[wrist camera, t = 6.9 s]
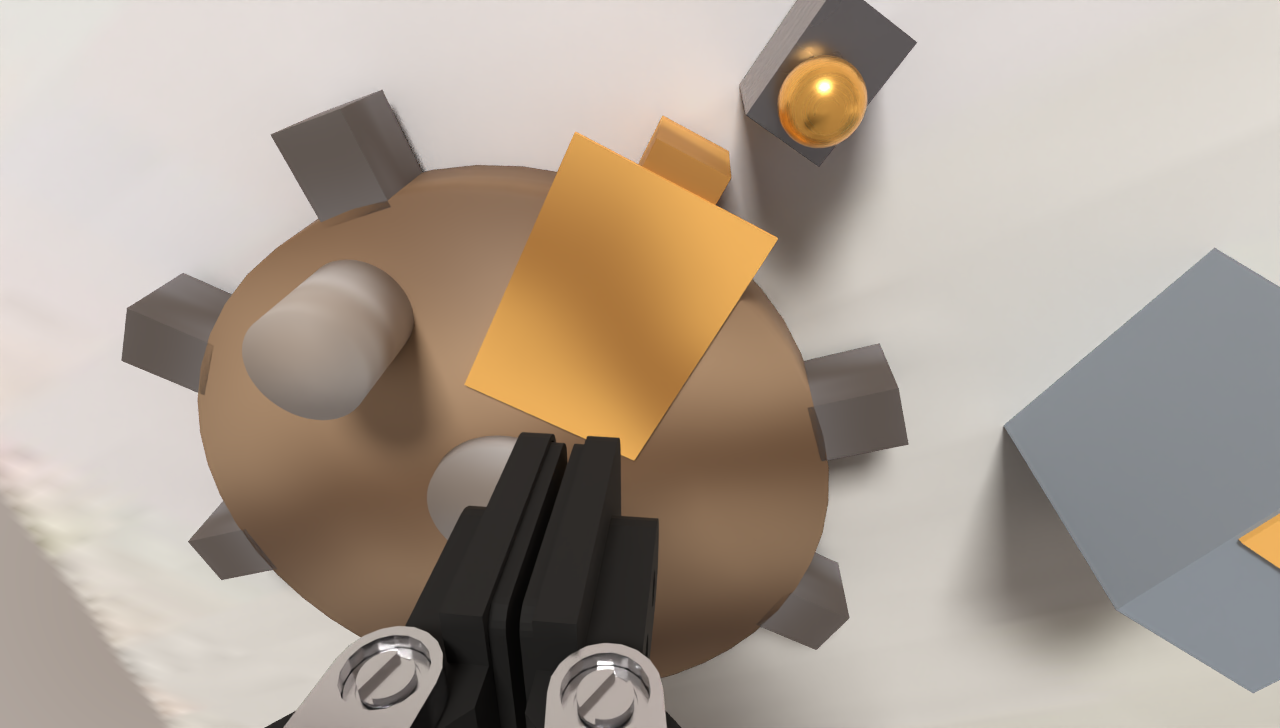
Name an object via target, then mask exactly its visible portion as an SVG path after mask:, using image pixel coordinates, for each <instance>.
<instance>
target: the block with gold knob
mask: <svg viewBox="0 0 1280 728" xmlns="http://www.w3.org/2000/svg"><path fill="white" fill-rule="evenodd" d="M916 43H917V42H916V41H915V40H913V39H912V38H911V37H910V36H908V35H907V34H906V33H905V32H903V31H902V30H901V29H900V28H898V27H897V26H896V25H894V24H893V23H892V22H891V21H889V20H888V19H887V18H886V17H884V16H883V15H882V14H881V13H879V12H878V11H877V10H875V9H874V8H873V7H872V6H870V5H869V4H868V3H867V2H865V1H864V0H797V1H796V2H795V4H794V5H793V6H792V8H791V9H790V11H789V12H788V14H787V15H786V17H785V18H784V20H783V21H782V23H781V24H780V26H779V27H778V29H777V30H776V32H775V33H774V34H773V36H772V37H771V39H770V40H769V42H768V43H767V45H766V46H765V48H764V49H763V51H762V52H761V54H760V55H759V57H758V58H757V60H756V61H755V62H754V64H753V65H752V67H751V68H750V70H749V71H748V73H747V74H746V76H745V77H744V79H743V80H742V82H741V83H740V90H741V94H742V99H743V104H744V108H745V113H746V115H747V116H748V117H749V118H751V119H752V120H754V121H755V122H757V123H758V124H759V125H761V126H762V127H764V128H765V129H766V130H768V131H769V132H771V133H772V134H773V135H775V136H776V137H778V138H779V139H780V140H782V141H783V142H785V143H786V144H788V145H789V146H790V147H792V148H793V149H795V150H796V151H797V152H799V153H800V154H802V155H803V156H804V157H806V158H807V159H809V160H810V161H811V162H813V163H814V164H816V165H817V166H818V167H819V166H820V165H821V164H822V162H823V161H824V160H825V159H826V157H827V156H828V155H829V154H830V152H831V151H832V150H833V148H834V147H835V146H836V145H837V144H839V143H840V142H842V141H844V140H845V139H847V138H848V137H849V136H850V135H851V134H852V133H853V132H854V131H855V130H856V129H857V127H858V126H859V125H860V123H861V121H862V119H863V117H864V114H865V111H866V107H867V105H868V104H869V103H870V102H871V100H872V99H873V98H874V96H875V95H876V94H877V93H878V91H879V90H880V89H881V88H882V86H883V85H884V84H885V83H886V81H887V80H888V79H889V77H890V76H891V75H892V74H893V72H894V71H895V70H896V69H897V67H898V66H899V65H900V63H901V62H902V61H903V60H904V58H905V57H906V56H907V55H908V53H909V52H910V51H911V50H912V48H913V47H914V46H915V44H916Z"/></svg>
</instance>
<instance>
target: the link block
mask: <svg viewBox="0 0 1280 728" xmlns="http://www.w3.org/2000/svg"><path fill="white" fill-rule="evenodd" d="M1004 427H1005V429H1006V430H1007V432H1008V434H1009V435H1010V437H1011V439H1012V440H1013V442H1014V443H1015V445H1016V447H1017V448H1018V450H1019V452H1020V453H1021V455H1022V457H1023V458H1024V460H1025V461H1026V463H1027V465H1028V466H1029V468H1030V470H1031V471H1032V473H1033V475H1034V476H1035V478H1036V479H1037V481H1038V483H1039V484H1040V486H1041V488H1042V489H1043V491H1044V493H1045V494H1046V496H1047V498H1048V499H1049V501H1050V502H1051V504H1052V506H1053V507H1054V509H1055V511H1056V512H1057V514H1058V516H1059V517H1060V519H1061V520H1062V522H1063V524H1064V525H1065V527H1066V529H1067V530H1068V532H1069V534H1070V535H1071V537H1072V538H1073V540H1074V542H1075V543H1076V545H1077V547H1078V548H1079V550H1080V552H1081V553H1082V555H1083V556H1084V558H1085V560H1086V561H1087V563H1088V565H1089V566H1090V568H1091V570H1092V571H1093V573H1094V575H1095V576H1096V578H1097V579H1098V581H1099V583H1100V584H1101V586H1102V588H1103V589H1104V591H1105V593H1106V594H1107V596H1108V597H1109V599H1110V601H1111V602H1112V604H1113V606H1114V607H1115V609H1116V610H1117V611H1119V612H1120V613H1122V614H1123V615H1125V616H1127V617H1128V618H1130V619H1132V620H1133V621H1135V622H1137V623H1138V624H1140V625H1142V626H1143V627H1145V628H1147V629H1148V630H1150V631H1151V632H1153V633H1155V634H1156V635H1158V636H1160V637H1161V638H1163V639H1165V640H1166V641H1168V642H1170V643H1171V644H1173V645H1175V646H1176V647H1178V648H1179V649H1181V650H1183V651H1184V652H1186V653H1188V654H1189V655H1191V656H1193V657H1194V658H1196V659H1198V660H1199V661H1201V662H1203V663H1204V664H1206V665H1207V666H1209V667H1211V668H1212V669H1214V670H1216V671H1217V672H1219V673H1221V674H1222V675H1224V676H1226V677H1227V678H1229V679H1231V680H1232V681H1234V682H1235V683H1237V684H1239V685H1240V686H1242V687H1244V688H1245V689H1247V690H1249V691H1250V692H1252V693H1255V692H1257V691H1259V690H1261V689H1263V688H1265V687H1267V686H1269V685H1271V684H1273V683H1275V682H1277V681H1279V680H1280V287H1279V286H1277V285H1275V284H1274V283H1272V282H1270V281H1269V280H1267V279H1266V278H1264V277H1262V276H1261V275H1259V274H1257V273H1256V272H1254V271H1252V270H1251V269H1249V268H1247V267H1246V266H1244V265H1242V264H1241V263H1239V262H1237V261H1236V260H1234V259H1232V258H1231V257H1229V256H1227V255H1226V254H1224V253H1222V252H1221V251H1219V250H1217V249H1216V248H1214V249H1213V250H1212V251H1210V252H1209V253H1208V254H1207V255H1206V256H1205V257H1203V258H1202V259H1201V260H1200V261H1199V262H1197V263H1196V264H1195V265H1194V266H1193V267H1191V268H1190V269H1189V270H1188V271H1187V272H1185V273H1184V274H1183V275H1182V276H1181V277H1180V278H1178V279H1177V280H1176V281H1175V282H1174V283H1172V284H1171V285H1170V286H1169V287H1168V288H1166V289H1165V290H1164V291H1163V292H1162V293H1161V294H1159V295H1158V296H1157V297H1156V298H1155V299H1153V300H1152V301H1151V302H1150V303H1149V304H1147V305H1146V306H1145V307H1144V308H1143V309H1142V310H1140V311H1139V312H1138V313H1137V314H1136V315H1134V316H1133V317H1132V318H1131V319H1130V320H1128V321H1127V322H1126V323H1125V324H1124V325H1123V326H1121V327H1120V328H1119V329H1118V330H1117V331H1115V332H1114V333H1113V334H1112V335H1111V336H1109V337H1108V338H1107V339H1106V340H1105V341H1103V342H1102V343H1101V344H1100V345H1099V346H1098V347H1096V348H1095V349H1094V350H1093V351H1092V352H1090V353H1089V354H1088V355H1087V356H1086V357H1084V358H1083V359H1082V360H1081V361H1080V362H1079V363H1077V364H1076V365H1075V366H1074V367H1073V368H1071V369H1070V370H1069V371H1068V372H1067V373H1065V374H1064V375H1063V376H1062V377H1061V378H1060V379H1058V380H1057V381H1056V382H1055V383H1054V384H1052V385H1051V386H1050V387H1049V388H1048V389H1046V390H1045V391H1044V392H1043V393H1042V394H1041V395H1039V396H1038V397H1037V398H1036V399H1035V400H1033V401H1032V402H1031V403H1030V404H1029V405H1027V406H1026V407H1025V408H1024V409H1023V410H1021V411H1020V412H1019V413H1018V414H1017V415H1016V416H1014V417H1013V418H1012V419H1011V420H1010V421H1008V422H1007V423H1006V424H1005V425H1004Z"/></svg>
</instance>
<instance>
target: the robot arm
mask: <svg viewBox="0 0 1280 728" xmlns="http://www.w3.org/2000/svg"><path fill="white" fill-rule="evenodd" d="M658 549H659V519H658V518H646V517H631V516H621V444H620V438H617V437H599V436H587V438H586V440H585V444H574V446H573V448H572V451H571V454H570V458H569V461H568V460H567V447H566V444H565V443H557V442H556V438H555V435H554V434H548V433H531V432H522V433H520V435H519V436H518V439H517V441H516V443H515V445H514V447H513V450H512V452H511V454H510V456H509V458H508V461H507V463H506V465H505V467H504V469H503V472H502V474H501V476H500V478H499V481H498V483H497V485H496V487H495V489H494V492H493V494H492V496H491V498H490V500H489V503H488V505H487V507H483V506H467V507H466V508H464V510H463V511H462V513H461V515H460V517H459V519H458V521H457V523H456V525H455V527H454V529H453V531H452V533H451V535H450V537H449V539H448V541H447V543H446V545H445V547H444V549H443V551H442V553H441V555H440V557H439V559H438V561H437V563H436V565H435V567H434V569H433V571H432V573H431V575H430V577H429V579H428V581H427V583H426V585H425V587H424V589H423V591H422V593H421V595H420V597H419V599H418V601H417V603H416V605H415V607H414V609H413V611H412V613H411V615H410V617H409V619H408V621H407V623H406V625H405V626H395V627H389V628H383V629H379V630H377V631H374V632H372V633H369V634H367V635H364V636H363V637H361V638H360V639H358V640H357V641H355V642H354V643H352V644H350V645H349V646H348V647H347V648H346V649H345V650H344V651H343V652H342V653H341V654H340V655H339V656H338V657H337V658H336V659H335V660H334V662H333V663H332V664H331V666H330V667H329V668H328V670H327V671H326V672H325V674H324V675H323V676H322V677H321V679H320V680H319V681H318V683H317V684H316V685H315V687H314V688H313V689H312V691H311V692H310V693H309V695H308V696H307V697H306V698H305V700H304V701H303V702H302V704H301V705H300V706H299V708H298V709H297V710H296V711H295V712H293V713H291V714H289V715H287V716H285V717H283V718H282V719H280V720H278V721H276V722H274V723H272V724H271V725H269V726H267V727H265V728H681V727H680V726H679V725H678V724H677V722H676V721H675V720H674V719H673V718H672V717H671V716H670V715H669V714H668V713H667V712H666V711H665V703H664V693H663V686H662V682H661V678H660V675H659V672H658V671H657V669H656V668H655V666H654V665H653V664H652V662H651V661H650V651H651V641H652V632H653V622H654V612H655V601H656V589H657V574H658Z"/></svg>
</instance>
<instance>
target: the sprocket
mask: <svg viewBox="0 0 1280 728" xmlns="http://www.w3.org/2000/svg"><path fill="white" fill-rule="evenodd" d="M271 136H272V138H273V140H274V142H275V143H276V145H277V147H278V148H279V150H280V152H281V154H282V155H283V157H284V159H285V161H286V162H287V164H288V166H289V168H290V169H291V171H292V173H293V175H294V176H295V178H296V180H297V182H298V183H299V185H300V187H301V189H302V190H303V192H304V194H305V196H306V197H307V199H308V201H309V202H310V204H311V206H312V208H313V209H314V211H315V213H316V215H317V216H318V218H319V219H317V220H316V221H314V222H313V223H311V224H310V225H309V226H307V227H306V228H304V229H303V230H302V231H300V232H299V233H297V234H296V235H295V236H293V237H292V238H290V239H289V240H287V241H286V242H285V243H283V244H282V245H280V246H279V247H278V248H276V249H275V250H274V251H273V252H272V253H271V254H270V255H268V256H267V257H266V258H265V259H264V260H263V261H262V262H261V263H260V264H258V265H257V266H256V267H255V268H254V269H253V270H252V271H251V272H250V273H249V274H247V276H246V277H245V278H244V280H243V281H242V282H241V284H240V285H239V286H238V288H237V289H236V290H235V292H234V293H233V294H230V293H227V292H225V291H223V290H221V289H218V288H216V287H214V286H212V285H209V284H207V283H205V282H203V281H200V280H198V279H196V278H193V277H191V276H189V275H187V274H184V273H182V274H181V275H179V276H178V277H176V278H174V279H173V280H171V281H170V282H168V283H166V284H165V285H163V286H162V287H160V288H158V289H157V290H155V291H154V292H152V293H150V294H149V295H147V296H146V297H144V298H143V299H141V300H139V301H138V302H136V303H135V304H133V305H131V306H130V307H128V308H127V314H126V323H125V333H124V342H123V351H122V361H123V362H126V363H128V364H131V365H133V366H135V367H138V368H140V369H143V370H145V371H147V372H150V373H152V374H155V375H157V376H159V377H162V378H164V379H167V380H169V381H171V382H174V383H176V384H179V385H181V386H183V387H186V388H188V389H191V390H193V391H195V392H198V411H199V423H200V434H201V438H202V442H203V446H204V450H205V454H206V458H207V462H208V466H209V468H210V471H211V473H212V476H213V478H214V481H215V483H216V486H217V488H218V491H219V493H220V495H221V497H222V499H223V502H222V503H221V504H220V505H219V507H218V508H217V509H216V510H215V511H214V512H213V513H212V515H211V516H210V517H209V518H208V519H207V520H206V522H205V523H204V524H203V525H202V526H201V527H200V528H199V530H198V531H197V532H196V533H195V534H194V535H193V536H192V538H191V539H190V540H189V541H188V542H189V543H190V544H191V546H192V547H193V548H194V549H195V550H196V551H197V552H198V554H199V555H200V556H201V557H202V558H203V559H204V560H205V562H206V563H207V564H208V565H209V566H210V567H211V568H212V570H213V571H214V572H215V573H216V574H217V575H218V577H219V578H220V579H221V580H224V579H229V578H234V577H239V576H244V575H249V574H254V573H259V572H264V571H270V570H274V571H275V572H276V573H277V575H278V576H280V577H281V578H282V579H283V580H284V581H285V582H286V583H287V584H288V585H289V586H291V587H292V588H293V589H294V590H295V591H296V592H297V593H298V594H299V595H300V596H302V597H303V598H304V599H305V600H307V601H308V602H309V603H311V604H312V605H313V606H314V607H316V608H317V609H318V610H320V611H321V612H322V613H324V614H325V615H326V616H328V617H329V618H330V619H332V620H334V621H335V622H337V623H339V624H340V625H342V626H343V627H345V628H347V629H348V630H350V631H351V632H353V633H355V634H356V635H358V636H359V637H363V636H364V635H367V634H369V633H372V632H374V631H377V630H379V629H383V628H389V627H395V626H405V625H406V623H407V621H408V619H409V617H410V615H411V613H412V611H413V609H414V607H415V605H416V603H417V601H418V599H419V597H420V595H421V593H422V591H423V589H424V587H425V585H426V583H427V581H428V579H429V577H430V575H431V573H432V571H433V569H434V567H435V565H436V563H437V561H438V559H439V557H440V555H441V553H442V551H443V549H444V547H445V545H446V543H447V541H448V539H449V537H450V535H451V533H452V531H453V529H454V527H455V525H456V523H457V521H458V519H459V517H460V515H461V513H462V511H463V510H464V508H466V507H467V506H483V507H487V505H488V503H489V500H490V498H491V496H492V494H493V492H494V489H495V487H496V485H497V483H498V481H499V478H500V476H501V474H502V472H503V469H504V467H505V465H506V463H507V461H508V458H509V456H510V454H511V452H512V450H513V447H514V445H515V443H516V441H517V439H518V436H519V435H520V433H522V432H531V433H548V434H554V435H555V438H556V442H557V443H565V444H566V447H567V460H568V461H569V458H570V454H571V451H572V448H573V446H574V444H585V440H586V438H587V436H599V437H617V438H620V444H621V516H631V517H646V518H658V519H659V549H658V574H657V589H656V601H655V612H654V622H653V632H652V641H651V651H650V661H651V662H652V664H653V665H654V666H655V668H656V669H657V671H658V672H659V675H660V678H663V677H667V676H670V675H674V674H677V673H679V672H682V671H684V670H687V669H689V668H692V667H695V666H697V665H700V664H702V663H704V662H706V661H708V660H710V659H712V658H714V657H716V656H718V655H720V654H721V653H723V652H725V651H727V650H729V649H731V648H732V647H734V646H735V645H737V644H738V643H739V642H741V641H742V640H744V639H745V638H747V637H748V636H749V635H751V634H752V633H754V632H755V631H756V630H757V629H758V628H760V627H763V628H765V629H767V630H770V631H772V632H775V633H777V634H779V635H782V636H784V637H787V638H789V639H791V640H794V641H796V642H799V643H801V644H803V645H806V646H808V647H811V648H813V649H815V650H817V649H818V648H819V647H820V646H821V645H822V644H823V643H824V642H825V641H826V640H827V639H828V638H829V637H830V636H831V635H832V634H833V633H834V632H835V631H837V630H838V629H839V628H840V627H841V626H842V625H843V624H844V623H845V622H846V621H847V620H848V619H849V613H848V609H847V604H846V599H845V594H844V589H843V585H842V580H841V575H840V570H839V565H838V563H837V562H835V561H832V560H830V559H828V558H826V557H823V556H821V555H819V554H817V553H815V551H816V548H817V546H818V543H819V541H820V538H821V535H822V532H823V527H824V522H825V516H826V511H827V506H828V482H829V467H828V461H827V460H832V459H838V458H843V457H848V456H853V455H858V454H863V453H868V452H873V451H878V450H883V449H888V448H893V447H898V446H903V445H908V439H907V433H906V428H905V422H904V417H903V411H902V405H901V400H900V394H899V388H898V386H897V384H896V381H895V379H894V377H893V374H892V372H891V369H890V367H889V365H888V362H887V360H886V358H885V355H884V353H883V351H882V348H881V346H880V344H876V345H871V346H867V347H863V348H858V349H854V350H850V351H845V352H841V353H837V354H832V355H828V356H824V357H820V358H815V359H811V360H807V361H803V358H802V355H801V352H800V350H799V349H798V347H797V345H796V343H795V341H794V339H793V337H792V335H791V333H790V331H789V329H788V327H787V325H786V323H785V321H784V320H783V318H782V317H781V315H780V314H779V313H778V311H777V310H776V309H775V307H774V306H773V304H772V303H771V302H770V300H769V299H768V297H767V296H766V295H765V293H764V292H763V291H762V289H761V288H760V287H759V286H758V285H757V284H756V282H755V281H754V280H753V277H754V275H755V274H756V272H757V271H758V269H759V268H760V266H761V265H762V263H763V262H764V260H765V259H766V257H767V255H768V254H769V252H770V251H771V249H772V248H773V246H774V245H775V243H776V242H777V240H778V238H777V237H775V236H774V235H772V234H770V233H768V232H766V231H764V230H762V229H760V228H758V227H756V226H755V225H753V224H751V223H749V222H747V221H745V220H743V219H741V218H739V217H737V216H735V215H734V214H732V213H730V212H728V211H726V210H724V209H722V208H720V207H718V206H716V203H717V202H718V200H719V198H720V197H721V195H722V193H723V191H724V190H725V188H726V186H727V184H728V183H729V181H730V179H731V171H730V160H729V151H727V150H725V149H723V148H722V147H720V146H718V145H716V144H714V143H712V142H711V141H709V140H707V139H705V138H703V137H701V136H699V135H698V134H696V133H694V132H692V131H690V130H688V129H687V128H685V127H683V126H681V125H679V124H677V123H675V122H674V121H672V120H670V119H668V118H666V117H664V116H662V118H661V120H660V122H659V124H658V126H657V128H656V130H655V132H654V134H653V136H652V138H651V140H650V142H649V144H648V146H647V148H646V150H645V152H644V154H643V156H642V158H641V160H640V162H639V164H636V163H635V162H633V161H631V160H629V159H627V158H625V157H623V156H621V155H619V154H617V153H615V152H614V151H612V150H610V149H608V148H606V147H604V146H602V145H600V144H598V143H596V142H595V141H593V140H591V139H589V138H587V137H585V136H583V135H581V134H579V133H577V132H575V133H574V135H573V138H572V140H571V142H570V144H569V147H568V149H567V151H566V154H565V156H564V158H563V160H562V163H561V165H560V167H559V170H558V172H554V171H548V170H541V169H535V168H529V167H523V166H488V165H473V166H464V167H455V168H446V169H437V170H430V171H426V172H422V171H421V169H420V167H419V165H418V163H417V161H416V159H415V157H414V155H413V153H412V150H411V148H410V146H409V144H408V142H407V140H406V138H405V136H404V134H403V132H402V130H401V128H400V126H399V124H398V121H397V119H396V117H395V115H394V113H393V111H392V109H391V107H390V105H389V103H388V101H387V99H386V97H385V95H384V93H383V90H380V91H378V92H375V93H372V94H370V95H367V96H364V97H362V98H359V99H356V100H354V101H351V102H348V103H346V104H343V105H340V106H338V107H335V108H332V109H330V110H327V111H324V112H322V113H319V114H317V115H314V116H312V117H310V118H308V119H305V120H303V121H301V122H298V123H296V124H294V125H292V126H289V127H287V128H285V129H283V130H280V131H278V132H276V133H273V134H271Z"/></svg>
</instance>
